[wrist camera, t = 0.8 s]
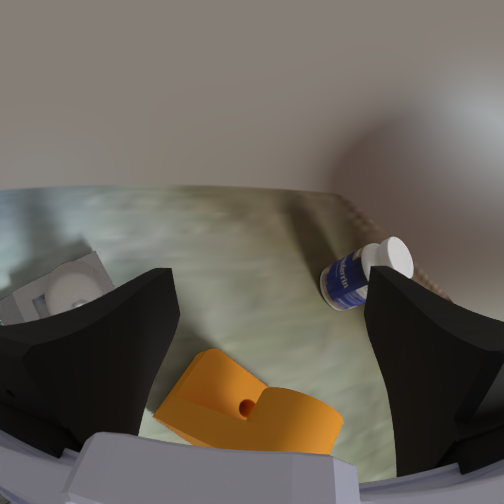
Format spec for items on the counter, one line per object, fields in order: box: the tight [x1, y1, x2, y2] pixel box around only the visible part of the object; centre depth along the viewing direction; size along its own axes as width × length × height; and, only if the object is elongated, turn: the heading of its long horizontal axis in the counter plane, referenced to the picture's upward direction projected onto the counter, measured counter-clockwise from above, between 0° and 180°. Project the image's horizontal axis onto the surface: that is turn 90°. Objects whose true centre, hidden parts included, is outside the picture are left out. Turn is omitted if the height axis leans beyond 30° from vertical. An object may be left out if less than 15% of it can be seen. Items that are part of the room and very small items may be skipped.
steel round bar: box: [44, 261, 108, 316], centre depth 17 cm, size 4×4×7 cm
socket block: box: [0, 251, 115, 325], centre depth 18 cm, size 14×8×2 cm, turn 129°
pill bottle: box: [320, 237, 413, 311], centre depth 33 cm, size 6×6×10 cm
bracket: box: [153, 348, 343, 455], centre depth 19 cm, size 11×7×12 cm, turn 57°
